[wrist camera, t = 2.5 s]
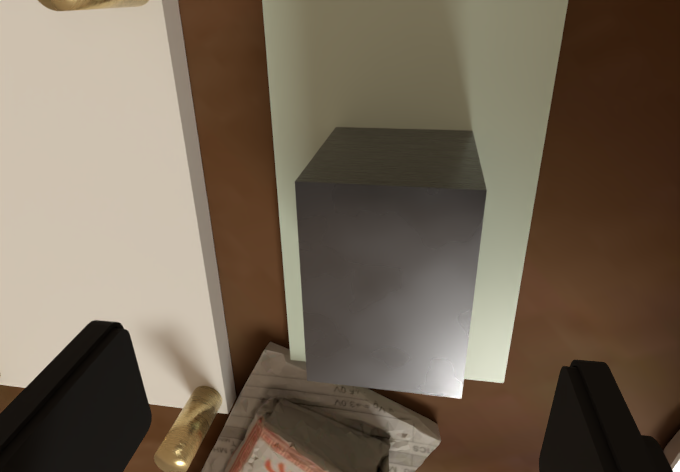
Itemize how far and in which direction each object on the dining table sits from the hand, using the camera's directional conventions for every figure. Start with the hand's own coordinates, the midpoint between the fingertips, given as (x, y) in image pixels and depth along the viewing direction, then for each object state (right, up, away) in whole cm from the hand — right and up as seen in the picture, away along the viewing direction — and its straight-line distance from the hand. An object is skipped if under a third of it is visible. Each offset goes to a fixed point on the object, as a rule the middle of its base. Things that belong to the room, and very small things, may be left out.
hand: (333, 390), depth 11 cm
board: (+3, +5, +10) cm, 11 cm away
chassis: (-13, +5, +13) cm, 19 cm away
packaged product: (-3, -11, +19) cm, 22 cm away
